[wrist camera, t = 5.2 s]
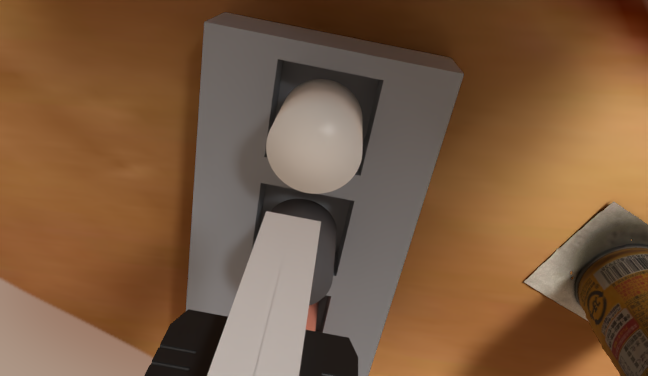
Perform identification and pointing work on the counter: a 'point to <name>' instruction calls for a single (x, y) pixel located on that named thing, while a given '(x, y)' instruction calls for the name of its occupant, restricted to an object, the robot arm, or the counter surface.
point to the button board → (343, 204)
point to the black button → (325, 242)
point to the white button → (317, 137)
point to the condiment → (605, 284)
